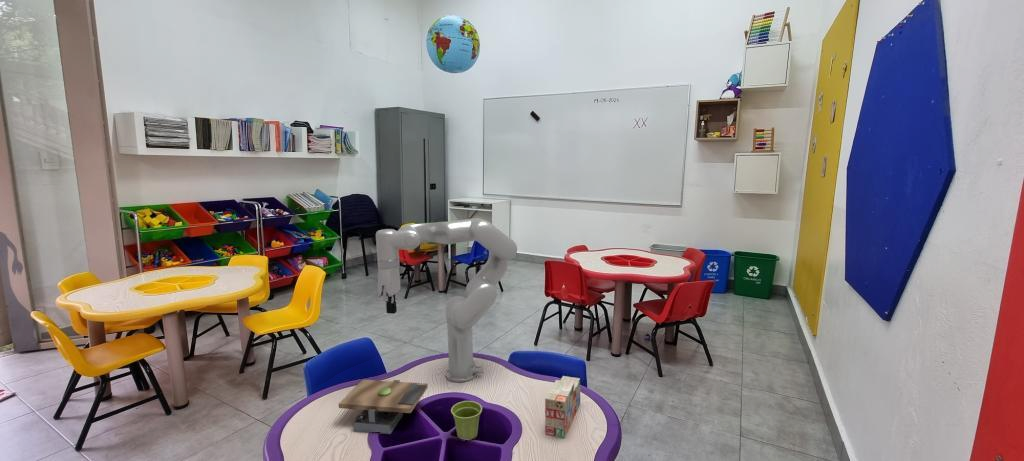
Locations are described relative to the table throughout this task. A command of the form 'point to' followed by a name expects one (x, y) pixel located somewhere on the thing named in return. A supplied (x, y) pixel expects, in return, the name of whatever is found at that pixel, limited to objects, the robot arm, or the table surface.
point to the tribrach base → (377, 421)
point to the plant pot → (466, 418)
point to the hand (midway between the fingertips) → (391, 312)
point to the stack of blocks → (561, 406)
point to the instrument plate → (384, 396)
